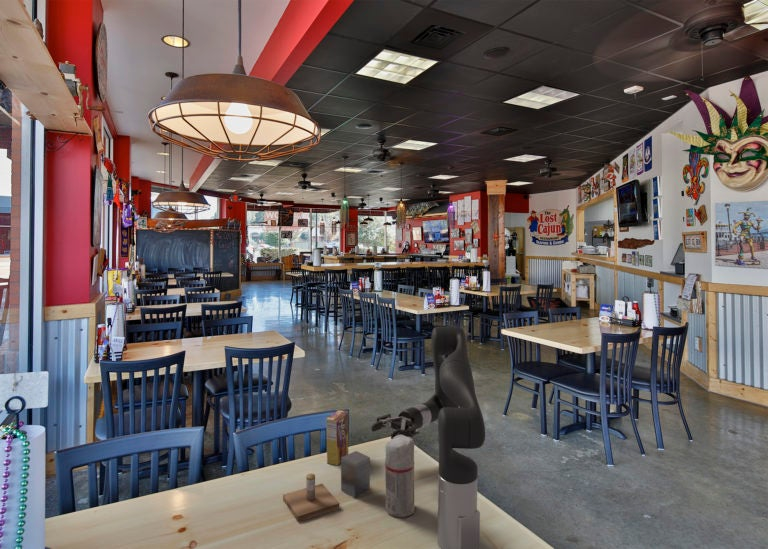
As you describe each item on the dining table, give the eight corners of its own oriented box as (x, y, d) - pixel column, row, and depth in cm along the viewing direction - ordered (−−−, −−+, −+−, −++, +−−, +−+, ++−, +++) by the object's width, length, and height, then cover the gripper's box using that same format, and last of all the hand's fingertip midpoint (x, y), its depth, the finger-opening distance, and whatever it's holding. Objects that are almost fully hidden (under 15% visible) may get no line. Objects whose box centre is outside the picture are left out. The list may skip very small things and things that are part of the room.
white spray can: (412, 521, 115) (413, 446, 114) (382, 517, 117) (382, 443, 116) (417, 503, 123) (417, 433, 123) (388, 499, 125) (388, 430, 124)
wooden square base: (339, 508, 121) (339, 479, 120) (297, 522, 114) (297, 491, 114) (322, 488, 131) (322, 461, 131) (283, 499, 125) (282, 471, 124)
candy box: (337, 452, 155) (337, 409, 154) (348, 454, 153) (348, 411, 153) (325, 463, 146) (325, 418, 146) (337, 465, 145) (337, 420, 144)
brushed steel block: (369, 490, 130) (369, 457, 129) (354, 498, 126) (354, 464, 125) (356, 482, 134) (356, 450, 134) (341, 490, 130) (341, 457, 129)
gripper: (399, 402, 154) (366, 414, 142) (432, 412, 144) (398, 427, 132) (399, 422, 154) (366, 437, 143) (431, 435, 144) (398, 451, 133)
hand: (381, 432), depth 137 cm, fingers open, 8 cm apart
